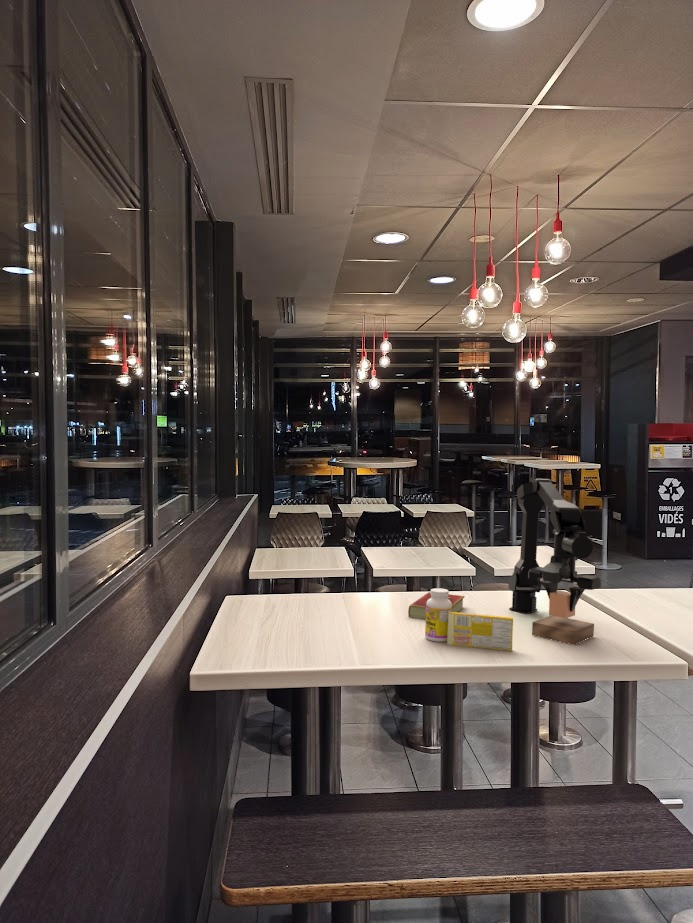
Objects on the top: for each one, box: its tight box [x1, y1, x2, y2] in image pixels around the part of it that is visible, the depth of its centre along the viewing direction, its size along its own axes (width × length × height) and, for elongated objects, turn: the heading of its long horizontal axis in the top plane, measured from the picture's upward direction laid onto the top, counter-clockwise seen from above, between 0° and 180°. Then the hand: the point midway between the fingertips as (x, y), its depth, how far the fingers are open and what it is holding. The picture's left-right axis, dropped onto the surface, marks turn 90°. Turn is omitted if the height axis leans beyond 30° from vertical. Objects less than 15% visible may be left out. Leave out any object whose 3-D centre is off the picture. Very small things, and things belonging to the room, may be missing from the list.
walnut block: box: [531, 615, 595, 645], centre depth 185 cm, size 12×12×4 cm
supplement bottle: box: [424, 587, 452, 643], centre depth 177 cm, size 7×7×13 cm
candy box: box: [446, 611, 514, 652], centre depth 172 cm, size 16×2×8 cm, turn 74°
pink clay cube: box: [548, 589, 576, 619], centre depth 185 cm, size 5×5×6 cm
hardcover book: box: [407, 591, 465, 620], centre depth 207 cm, size 12×21×4 cm, turn 158°
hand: (562, 609), depth 185 cm, fingers closed on pink clay cube, 5 cm apart
